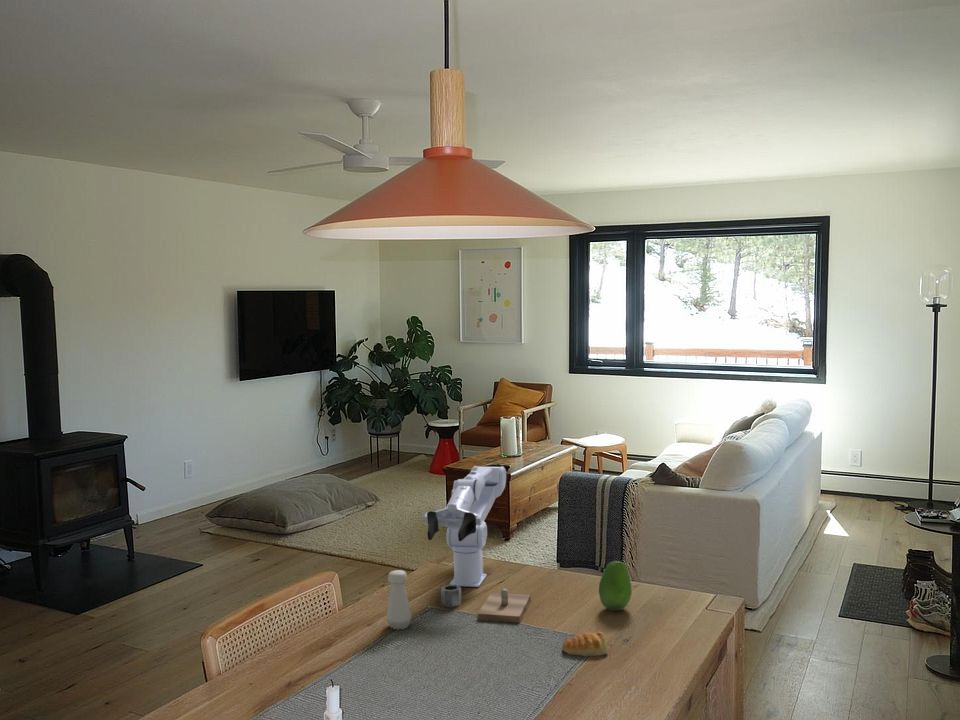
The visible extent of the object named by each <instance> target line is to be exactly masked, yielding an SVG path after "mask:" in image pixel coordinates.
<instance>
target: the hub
mask: <svg viewBox="0 0 960 720" xmlns="http://www.w3.org/2000/svg"><path fill="white" fill-rule="evenodd" d="M440 597H441V598H440V601H441V602H440V603H441V605H442V606H443V607H445V608H454V606H456V607H459V606H460V605H461V604H462V586H458V585H450V584H447V585H443V586H441V588H440ZM458 605H459V606H458Z"/></svg>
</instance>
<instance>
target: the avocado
mask: <svg viewBox="0 0 960 720" xmlns="http://www.w3.org/2000/svg"><path fill="white" fill-rule="evenodd" d="M598 584H599V585H598V594H599V599H600V603H601V604H602V605H603V607H605V608H606V609H608V610H609V611H613V612H617V611H618V612H619V611H621V610H624V609H625V608H626V607H627V606H628V605H629V603H630V601H631V596H632V582H631V579H630V575H629V570H628V568H627V566H626V564H625V562H623V561H620V560H612V561H610V562H609V563H608V564H607V565H606V568H605V569H604V571H603V573H602V576H601V577H600V581H599V583H598Z"/></svg>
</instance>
